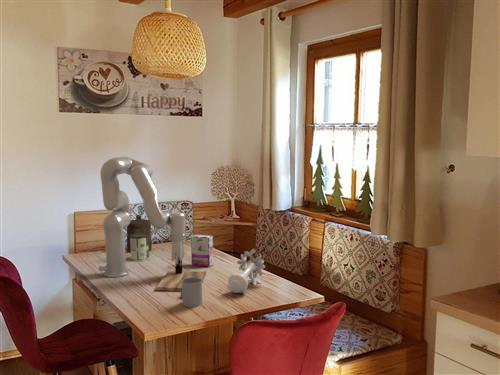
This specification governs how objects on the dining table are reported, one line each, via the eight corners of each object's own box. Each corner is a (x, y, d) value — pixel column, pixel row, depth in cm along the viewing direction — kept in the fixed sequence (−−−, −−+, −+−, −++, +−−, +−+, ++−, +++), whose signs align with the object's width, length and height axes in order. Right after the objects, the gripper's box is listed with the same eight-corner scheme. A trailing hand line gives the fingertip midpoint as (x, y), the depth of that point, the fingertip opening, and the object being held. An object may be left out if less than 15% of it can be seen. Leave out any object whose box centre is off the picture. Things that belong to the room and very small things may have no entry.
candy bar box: (213, 265, 283) (213, 235, 281) (209, 267, 279) (209, 237, 277) (195, 263, 287) (194, 234, 286) (191, 265, 283) (190, 235, 281)
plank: (156, 290, 238) (156, 287, 238) (168, 273, 266) (168, 270, 266) (175, 290, 238) (175, 287, 237) (185, 274, 265) (185, 271, 265)
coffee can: (139, 256, 306) (138, 232, 304) (152, 258, 300) (152, 234, 299) (126, 259, 297) (125, 235, 295) (140, 262, 291) (139, 237, 290)
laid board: (176, 291, 238) (176, 287, 237) (186, 274, 265) (186, 271, 265) (198, 291, 237) (198, 287, 237) (205, 274, 265) (205, 271, 265)
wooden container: (156, 248, 324) (155, 213, 322) (142, 253, 311) (141, 217, 309) (136, 246, 330) (135, 212, 328) (122, 251, 317) (120, 216, 315)
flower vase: (246, 309, 232) (266, 280, 254) (248, 274, 225) (269, 248, 246) (220, 300, 237) (242, 273, 258) (221, 266, 229) (244, 241, 251)
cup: (183, 300, 224) (182, 278, 223) (202, 299, 225) (201, 277, 224) (182, 307, 216) (181, 283, 215) (202, 306, 216) (201, 283, 215)
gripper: (173, 234, 267) (174, 269, 269) (167, 240, 252) (168, 277, 254) (187, 234, 267) (188, 269, 269) (183, 240, 252) (183, 277, 254)
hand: (179, 273), depth 261 cm, fingers closed
